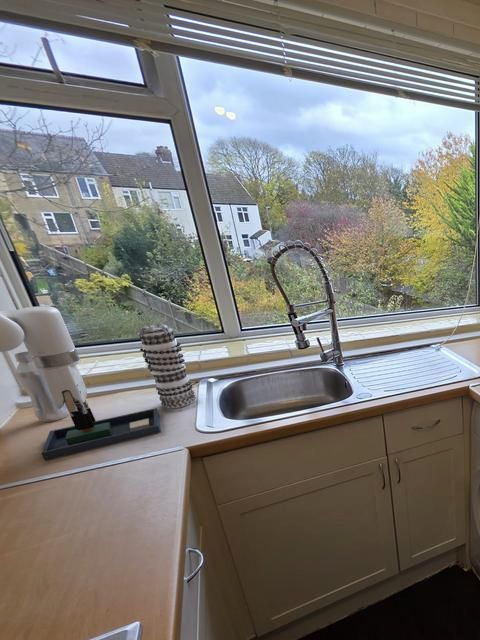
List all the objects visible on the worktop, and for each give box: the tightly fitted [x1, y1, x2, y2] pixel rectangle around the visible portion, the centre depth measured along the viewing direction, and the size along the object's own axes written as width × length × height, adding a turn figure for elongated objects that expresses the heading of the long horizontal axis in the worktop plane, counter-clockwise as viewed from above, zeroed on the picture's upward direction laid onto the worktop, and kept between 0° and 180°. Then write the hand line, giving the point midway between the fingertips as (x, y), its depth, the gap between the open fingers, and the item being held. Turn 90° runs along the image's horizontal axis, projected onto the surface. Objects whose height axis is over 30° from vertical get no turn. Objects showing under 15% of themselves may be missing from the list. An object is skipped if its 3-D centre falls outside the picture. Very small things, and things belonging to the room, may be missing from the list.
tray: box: [40, 407, 161, 461], centre depth 108 cm, size 22×14×3 cm, turn 130°
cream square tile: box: [130, 419, 150, 431], centre depth 112 cm, size 4×4×1 cm
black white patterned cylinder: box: [136, 324, 197, 409], centre depth 121 cm, size 9×9×25 cm
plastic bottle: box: [14, 350, 70, 423], centre depth 112 cm, size 6×7×20 cm
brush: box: [66, 404, 113, 445], centre depth 104 cm, size 8×5×10 cm, turn 131°
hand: (86, 425), depth 105 cm, fingers closed on brush, 2 cm apart
